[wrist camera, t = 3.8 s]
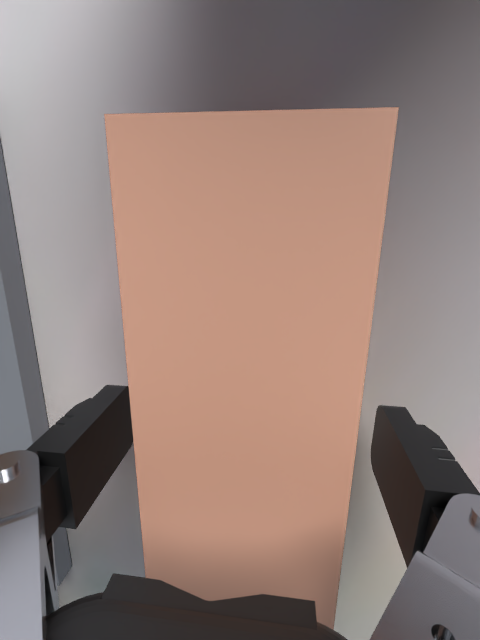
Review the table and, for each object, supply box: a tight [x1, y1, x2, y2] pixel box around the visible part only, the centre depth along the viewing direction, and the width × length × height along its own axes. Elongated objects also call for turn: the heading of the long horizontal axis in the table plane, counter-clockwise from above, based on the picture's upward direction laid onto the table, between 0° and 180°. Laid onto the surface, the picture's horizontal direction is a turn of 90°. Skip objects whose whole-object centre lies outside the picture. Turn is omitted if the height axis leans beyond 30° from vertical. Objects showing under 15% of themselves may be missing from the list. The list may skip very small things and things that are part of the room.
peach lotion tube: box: [104, 107, 399, 630], centre depth 10 cm, size 5×16×6 cm, turn 179°
